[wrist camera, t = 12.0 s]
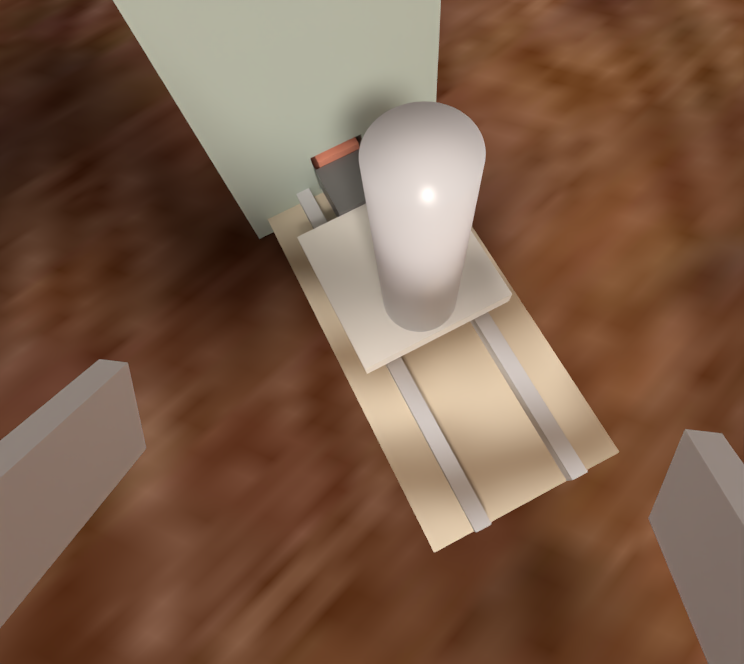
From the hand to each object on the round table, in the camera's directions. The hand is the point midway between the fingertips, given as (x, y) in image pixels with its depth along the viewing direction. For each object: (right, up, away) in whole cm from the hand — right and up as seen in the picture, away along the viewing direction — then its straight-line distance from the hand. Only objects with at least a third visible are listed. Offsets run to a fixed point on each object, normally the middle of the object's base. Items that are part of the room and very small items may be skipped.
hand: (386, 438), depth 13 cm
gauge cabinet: (-3, +13, +20) cm, 24 cm away
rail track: (+3, +3, +16) cm, 17 cm away
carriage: (+1, +7, +15) cm, 17 cm away
